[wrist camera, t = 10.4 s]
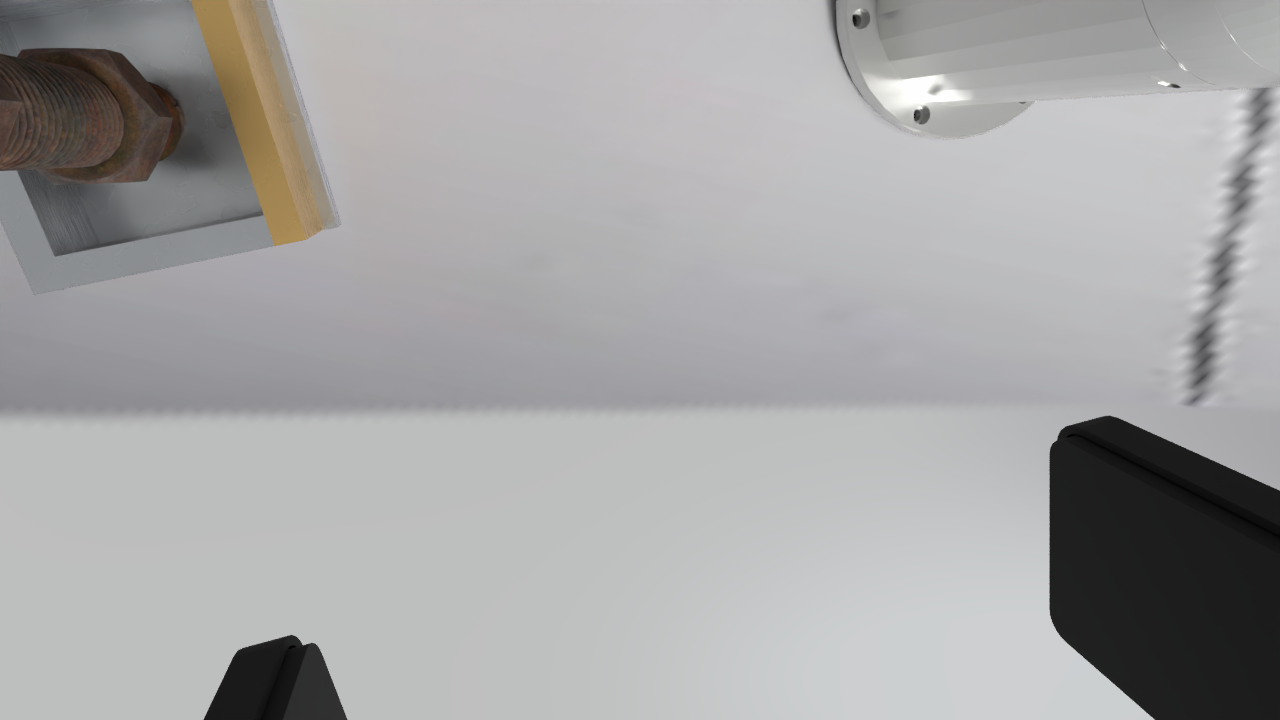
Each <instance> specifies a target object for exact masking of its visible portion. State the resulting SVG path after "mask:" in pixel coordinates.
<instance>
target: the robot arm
mask: <svg viewBox="0 0 1280 720" xmlns="http://www.w3.org/2000/svg"><path fill="white" fill-rule="evenodd" d="M853 16H854V17H855V18H856V25H855V26H854V24H853V21H852V18H853ZM836 19H837V33H838V38H839V42H840V47H841V52H842V56H843V59H844V62H845V64H846V67H847V69H848V71H849V74H850V76H851V79H852V81H853V83H854V84H855V86H856V87H857V89H858V90H859V92H860V93H861V95H862V96H863V98H864V99H865V101H866V102H867V103H868V104H869V105H870V106H871V107H872V108H873V109H874V110H875V111H876V112H877V113H878V114H879V115H880V116H881V117H882V118H884V119H885V120H887V121H888V122H890V123H892V124H893V125H895V126H896V127H898V128H899V129H901V130H904V131H907V132H910V133H912V134H915V135H918V136H921V137H929V138H937V139H963V138H968V137H972V136H977V135H982V134H985V133H988V132H990V131H992V130H994V129H997V128H999V127H1001V126H1004V125H1006V124H1007V123H1009V122H1010V121H1012V120H1013V119H1015V118H1016V117H1018V116H1019V115H1020V114H1022V113H1023V112H1025V111H1026V110H1027V109H1028V108H1029V107H1030V106H1031V105H1032V104H1033V103H1034V102H1035V101H1045V100H1062V99H1079V98H1097V97H1114V96H1131V95H1148V94H1165V93H1182V92H1199V91H1216V90H1233V89H1252V88H1268V87H1280V0H836ZM914 111H915V114H916V116H915V119H914V117H913V116H914ZM1050 616H1051V619H1052V622H1053V624H1054V626H1055V628H1056V630H1057V632H1058V633H1059V635H1060V636H1061V637H1062V638H1063V639H1064V640H1065V641H1066V642H1067V643H1068V644H1069V645H1070V646H1071V647H1073V648H1074V649H1075V650H1076V651H1077V652H1078V653H1079V654H1081V655H1082V656H1083V657H1084V658H1085V659H1086V660H1087V661H1088V662H1090V663H1091V664H1092V665H1093V666H1094V667H1095V668H1096V669H1098V670H1099V671H1100V672H1101V673H1102V674H1103V675H1104V676H1106V677H1107V678H1108V679H1109V680H1110V681H1111V682H1113V683H1114V684H1115V685H1116V686H1117V687H1118V688H1120V689H1121V690H1122V691H1123V692H1124V693H1125V694H1126V695H1127V696H1129V697H1130V698H1131V699H1132V700H1133V701H1134V702H1135V703H1137V704H1138V705H1139V706H1140V707H1141V708H1142V709H1143V710H1145V711H1146V712H1147V713H1148V714H1149V715H1150V716H1151V717H1153V718H1154V719H1155V720H1280V491H1279V490H1277V489H1274V488H1272V487H1270V486H1268V485H1266V484H1263V483H1261V482H1259V481H1257V480H1254V479H1252V478H1250V477H1248V476H1246V475H1243V474H1241V473H1239V472H1237V471H1235V470H1232V469H1230V468H1228V467H1226V466H1223V465H1221V464H1219V463H1217V462H1215V461H1212V460H1210V459H1208V458H1206V457H1203V456H1201V455H1199V454H1197V453H1195V452H1192V451H1190V450H1188V449H1186V448H1183V447H1181V446H1179V445H1177V444H1175V443H1172V442H1170V441H1168V440H1166V439H1163V438H1161V437H1159V436H1157V435H1154V434H1152V433H1150V432H1147V431H1145V430H1143V429H1141V428H1139V427H1137V426H1134V425H1132V424H1130V423H1128V422H1126V421H1123V420H1121V419H1119V418H1116V417H1112V416H1104V417H1099V418H1096V419H1092V420H1088V421H1084V422H1081V423H1077V424H1074V425H1070V426H1066V427H1065V428H1063V429H1062V430H1061V431H1060V433H1059V436H1058V439H1057V441H1056V442H1054V443H1053V444H1052V446H1051V449H1050ZM204 720H347V718H346V715H345V713H344V710H343V707H342V705H341V702H340V700H339V697H338V694H337V692H336V689H335V687H334V684H333V681H332V679H331V676H330V674H329V671H328V669H327V666H326V663H325V661H324V658H323V656H322V653H321V651H320V649H319V647H318V646H317V645H316V644H314V643H310V644H306V645H302V643H301V641H300V640H299V639H298V638H297V637H296V636H293V635H290V636H286V637H282V638H279V639H275V640H271V641H268V642H264V643H260V644H256V645H253V646H249V647H245V648H242V649H240V650H238V651H237V653H236V654H235V656H234V657H233V659H232V661H231V663H230V665H229V667H228V670H227V672H226V674H225V676H224V678H223V680H222V682H221V685H220V686H219V688H218V691H217V693H216V695H215V697H214V699H213V701H212V703H211V705H210V707H209V710H208V712H207V714H206V716H205V718H204Z"/></svg>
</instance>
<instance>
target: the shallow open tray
mask: <svg viewBox="0 0 1280 720" xmlns="http://www.w3.org/2000/svg"><path fill="white" fill-rule="evenodd" d="M35 48H89V49H107V50H111V51H115V52H119V53H122V54H123V55H124V56H125V57H126V58H127V59H128V60H129V61H130V63H131V64H132V65H133V66H134V67H135V68H136V69H137V70H138V71H139V72H140V73H141V75H142V76H143V77H144V78H145V79H146V81H148V82H151V83H154V84H156V85H158V86H160V87H162V88H163V89H165V90H166V91H168V92H169V93H170V94H171V95H172V97H173V98H174V101H175V102H176V103H175V104H174V107H176V106H177V105H178V107H179V106H181V108H182V111H183V113H184V115H185V120H186V125H185V126H184V130H185V133H184V134H183V135H182V137H181V138H180V140H179V142H178V144H177V146H176V148H175V150H174V152H173V153H171V154H170V155H169V156H168V157H166V158H165V159H164V160H162V161H159V162H158V163H157V165H156V167H155V169H154V170H153V172H152V174H151V175H150V177H149V179H148V180H147V181H143V182H131V183H107V184H73V185H53V184H52V183H51V182H50V181H49V180H47V179H46V178H45V177H44V176H43V175H42V174H40V173H39V172H38V171H37V170H36V169H34V170H16V171H0V222H1V224H2V226H3V228H4V230H5V233H6V235H7V237H8V239H9V241H10V244H11V246H12V248H13V250H14V252H15V254H16V257H17V259H18V261H19V263H20V265H21V268H22V270H23V272H24V274H25V276H26V279H27V281H28V283H29V285H30V287H31V290H32V292H33V294H34V295H36V294H41V293H46V292H51V291H56V290H61V289H66V288H71V287H76V286H80V285H85V284H90V283H95V282H100V281H105V280H110V279H115V278H120V277H125V276H130V275H135V274H139V273H144V272H149V271H154V270H159V269H164V268H169V267H174V266H179V265H184V264H189V263H194V262H198V261H203V260H208V259H213V258H218V257H223V256H228V255H233V254H238V253H243V252H248V251H253V250H257V249H262V248H267V247H272V246H277V245H282V244H287V243H292V242H297V241H302V240H306V239H308V238H310V237H311V236H313V235H315V234H316V233H318V232H320V231H322V230H327V229H332V228H337V227H339V226H340V225H341V223H340V219H339V216H338V213H337V210H336V206H335V203H334V200H333V197H332V193H331V190H330V187H329V184H328V180H327V177H326V174H325V171H324V167H323V164H322V161H321V158H320V155H319V151H318V148H317V145H316V142H315V138H314V135H313V132H312V129H311V125H310V122H309V119H308V116H307V112H306V109H305V106H304V103H303V99H302V96H301V93H300V90H299V87H298V83H297V80H296V77H295V74H294V70H293V67H292V64H291V61H290V57H289V54H288V51H287V48H286V44H285V41H284V38H283V35H282V31H281V28H280V25H279V22H278V19H277V15H276V12H275V9H274V6H273V2H272V0H0V54H5V55H9V56H15V57H17V56H18V54H19V53H20V51H21V50H22V49H35Z"/></svg>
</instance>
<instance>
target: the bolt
mask: <svg viewBox="0 0 1280 720" xmlns="http://www.w3.org/2000/svg"><path fill="white" fill-rule="evenodd" d="M175 103H176V102H175V101H174V98H173V97H172V95H171V94H170V93H169V92H168V91H166V90H165V89H163V88H162V87H160V86H158V85H156V84H154V83H151V82H148V81H146V79H145V78H144V77H143V76H142V75H141V73H140V72H139V71H138V70H137V69H136V68H135V67H134V66H133V65H132V64H131V63H130V61H129V60H128V59H127V58H126V57H125V56H124V55H123V54H122V53H119V52H115V51H111V50H107V49H89V48H35V49H22V50H21V51H20V53H19V54H18V56H17V57H15V56H9V55H5V54H0V171H16V170H34V169H36V170H37V171H38V172H39V173H40V174H42V175H43V176H44V177H45V178H46V179H47V180H49V181H50V182H51V183H52V184H53V185H73V184H107V183H131V182H143V181H147V180H148V179H149V177H150V175H151V174H152V172H153V170H154V169H155V167H156V165H157V163H158V162H159V161H162V160H164V159H165V158H166V157H168V156H169V155H170V154H171V153H173V152H174V150H175V148H176V146H177V144H178V142H179V140H180V138H181V137H182V135H183V134H184V133H185V130H184V126H185V125H186V120H185V115H184V113H183V111H182V108H181V106H179V107H178V105H177V106H176V107H174V104H175Z"/></svg>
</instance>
